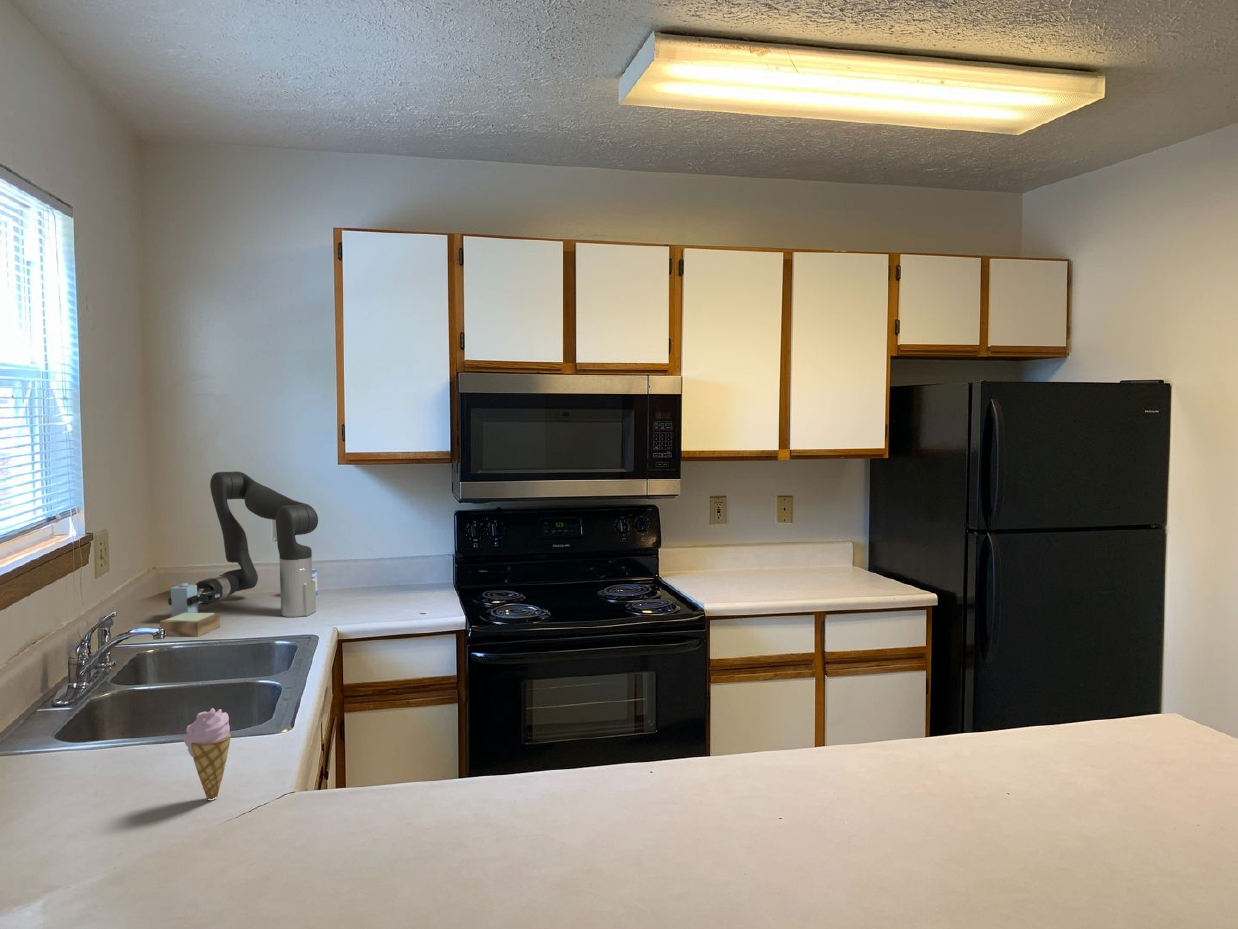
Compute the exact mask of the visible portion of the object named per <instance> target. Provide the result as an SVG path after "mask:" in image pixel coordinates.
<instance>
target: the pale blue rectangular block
mask: <svg viewBox="0 0 1238 929" xmlns="http://www.w3.org/2000/svg"><path fill="white" fill-rule="evenodd" d="M196 594H197V585H195V584H189V583H188V582H182V583H178V585H176V586H174V587H170V597H171V605H170V608H171V617H173V616H175V615H178V614H180V613H183V612H193V613H199V608H198V607H199V604H198V603H195V604H193V605H190V606H189V605H187V598H189V597H192V596H196Z"/></svg>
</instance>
